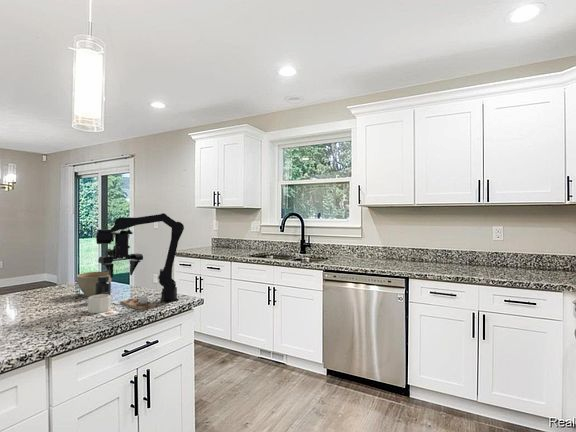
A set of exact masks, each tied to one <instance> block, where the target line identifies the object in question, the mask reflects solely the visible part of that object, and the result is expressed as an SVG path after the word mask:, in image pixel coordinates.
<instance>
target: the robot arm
mask: <svg viewBox="0 0 576 432" xmlns="http://www.w3.org/2000/svg"><path fill="white" fill-rule="evenodd" d="M159 222H162V223H164V224H166V225H167V226H168V227H169V228H170V229H171V233H170V234H171V236H170V242H169V247H168V252H167V256H166V259H165V263H164V267H163V269H162V268H160V269H159V275H158V277H157V279H158V282H159V285H161V286H162V287H163V288H162V290H161V294H160V295H161V298H160V301H161V302H165V303H171V302H175V301H178V300H179V298H178V293H177V292H178V287H177V282H176V281H175V280H174V279H173V277H172V276H173V267H174V266H173V265H174V262H175V258H176V253H177V249H178V244H179V240H180V238H181V236H182V234H183V232H184V230H185V226H184V224H183V223H182V222H181V221H176V220H174V219H173V218H171V217H170V216H168V215H167V214H166V213H160V214H153V215H152V214H151V215H147V216H146V215H145V216H139V217H125V216H123V217H118V218H116V219H115V221H114V225H113V226H112V227H111V228H110V229H102V228H101V229H97V234H96V237H95V240H96V244H97V245H111V244H112V242H114V245H113V248H112V249H111V248H105V251H104V253H105V255H104V256H103V255H102V256H99V258H98V262H97V263H99V264H101V265H104V266H105V268H106V270H107V272H109V275H110V278H113V277H114V265H115V264H114V263H113V262H117V261H125V260H127V261H128V262H129V275H130V276H132V275H133V274H134V272H135V269H136V267H137V266H138V264H139V263H140V262H141V261H143V260H144V255H143V254H142V253H130V254H129V249H130V248H131V246H130V245H129V235H133V234H134V232H133V231H132V230H131V229H130V228H131V227H135V226H138V225H145V224H151V223H159ZM125 229H127V230H125ZM119 230H120V232H118V231H119Z"/></svg>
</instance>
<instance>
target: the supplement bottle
mask: <svg viewBox="0 0 576 432" xmlns="http://www.w3.org/2000/svg"><path fill="white" fill-rule="evenodd" d="M108 280H109V276H99V277H98V282H97V283H96V284H95V295H100V294H108V295H111V296H112V293H111V292H112V283H110V282H109V281H108Z"/></svg>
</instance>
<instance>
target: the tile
mask: <svg viewBox="0 0 576 432" xmlns="http://www.w3.org/2000/svg"><path fill="white" fill-rule="evenodd" d="M98 315H99V316H102V317H104V318H107V317H111V316H117V315H120V312H118V311H115V310H109V311H106V312H101V313H98Z"/></svg>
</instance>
